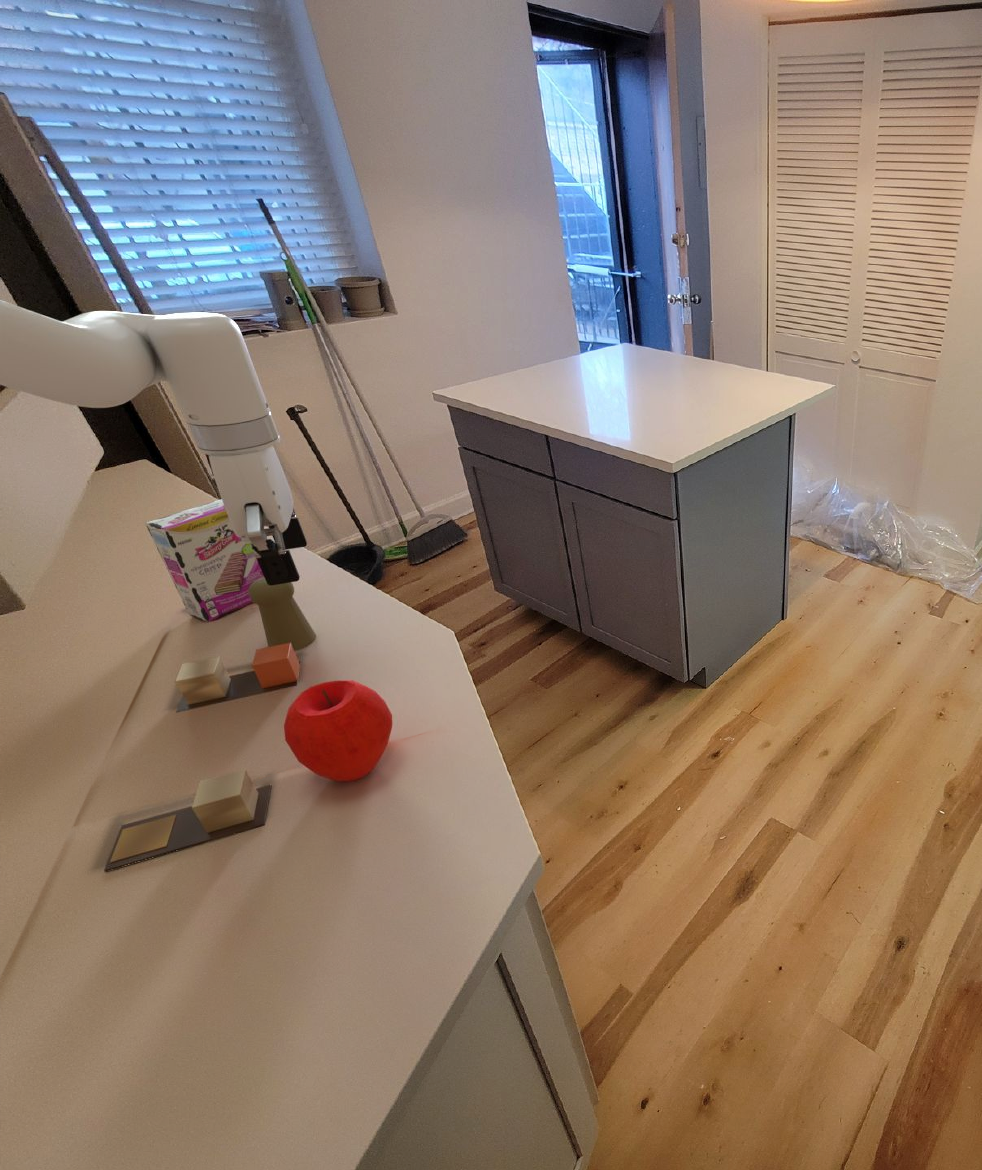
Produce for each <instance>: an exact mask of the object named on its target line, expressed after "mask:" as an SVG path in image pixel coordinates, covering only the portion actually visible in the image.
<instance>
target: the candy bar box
mask: <svg viewBox="0 0 982 1170" xmlns="http://www.w3.org/2000/svg"><path fill="white" fill-rule="evenodd" d="M144 524H145V526H146V528H147V531H148V533H149V534H150V536H151V538H152V540H153V542H154V545H155V546H156V549H157V551H158V553H159V555H160V557H161V559H162V562H163V563H164V565H165V567H166V569H167V572H168V573H169V576H170V578H171V580H172V582H173V585H174V586H175V588H176V590H177V592H178V595H179V597H180V599H181V601H182V603H183V605H184V607H185V609H186V611H187V613H188V615H189V616H190V617H193V618H194V619H195V618H196V619H198V620H200V621H202V622H206V623H211V622H213V621H216V620H217V619H220V618H221V617H224V616H226V615H228V614H231V613H233V612H235V611H238V610H239V609H242V608H244V607H246V606H248V605H250V604H253V603H254V602H253V601H252V600H251V599H250V596H249V594H248V589H249V587H250V585H251V584H252V583H253V582H254V581H256V580H258V579H260V578H263V577H264V575H263V573H262V571H261V568H260V566H259V564H258V561H257V559H256V557H255V555H254V551H253V549H252V547H253V546H251V544H252V542H251V541H250V539H249V538H248V536H246V537H245V538H239V537H238V536H236V535H235V532H234V530H233V527H232V525H231V522H230V520H229V517H228V514H227V512H226V509H225V506H224V504H223V501H222V498H220V499H217V500H214V501H211V502H208V503H205V504H201V505H198V506H195V507H192V508H189V509H186V510H182V511H178V512H176V513H173V514H169V515H167V516H163V517H160V518H157V519H153V520H150V521H147V522H145V523H144Z"/></svg>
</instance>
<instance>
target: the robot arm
mask: <svg viewBox="0 0 982 1170" xmlns="http://www.w3.org/2000/svg"><path fill="white" fill-rule="evenodd" d="M255 368H256V367H255V366H254V363H253V361H252V358H251V355H250V352H249V349H248V347H247V344H246V341H245V338H244V336H243V334H242V331H241V328H240V327H239V325H238V324H237V322H236V321H234V320H233V319H232V318H231V317H228V316H227V315H224V314H220V313H213V312H180V313H170V314H165V315H156V314H144V313H143V314H142V313H131V312H123V311H111V310H97V311H88V312H84V313H80V314H78V315H75V316H73V317H70V318H68V319H66V320H63V321H61V320H59V319H55V318H52V317H49V316H46V315H43V314H41V313H38V312H35V311H33V310H29V309H27V308H24V307H22V306H18V305H15V304H13V303H10V302H8V301H5V300H3V299H0V386H3V387H5V388H6V387H7V388H9V389H13V390H16V391H19V392H21V393H22V392H23V393H26V394H30V395H32V396H36V397H40V398H43V399H46V400H50V401H53V402H58V403H61V404H65V405H69V406H75V407H82V408H91V409H107V408H113V407H117V406H120V405H124V404H126V403H128V402H129V401H131V400H132V399H134V398H136V397H137V396H138V394H140V393H142V391H143V390H144V389H146V388H149V387H150V386H153V385H155V384H157V383H161V382H167V383H168V385H169V386H170V389H171V391H172V394H173V396H174V398H175V400H176V403H177V405H178V407H179V409H180V411H181V414H182V416H183V418H184V421H185V422H186V423H185V424H186V425H187V427H188V430H189V432H190V434H191V436H192V439H193V441H194V443H195V446H196V448H197V451H198V452H199V453H201V454H203V455H207V456H208V459H209V465H210V467H211V471H212V475H213V478H214V482H215V484H216V488H217V489H218V493H219V495H220V499H222V501H223V504H224V506H225V509H226V512H227V514H228V517H229V520H230V522H231V525H232V527H233V530H234V532H235V535H236V536H238V537H239V538H245V537H246V536H248V538H249V539H250V541H251V542H252V544H251V546H253V547H252V549H253V551H254V555H255V557H256V559H257V561H258V564H259V566H260V568H261V571H262V573H263V575H264V578H265V580H266V582H267V584H268V585H271V586H272V585H278V584H284V583H290V582H292V583H295V582H299V580H300V576H301V575H300V574H299V571H298V569H297V566H296V564H295V560H294V559H293V556H292V554H291V551H290V550H293V549H300V548H305V547H307V545H308V541H307V538H306V535H305V533H304V531H303V528H302V525H301V523H300V520H299V518H298V517H297V515H296V511H295V509H294V506H295V505H294V504H295V502H294V498H293V494H292V490H291V487H290V485H289V482H288V479H287V477H286V475H285V472H284V469H283V467H282V463H281V461H280V459H279V457H278V454H277V452H276V448H274V447H275V446H277V445H278V444H280V443H281V441H282V439H281V436H280V433H279V431H278V428H277V425H276V423H275V420H274V417H273V415H272V411H271V409H270V406H269V404H268V401H267V398H266V395H265V393H264V390H263V388H262V385H261V382H260V380H259V377H258V374H257V371H256V369H255ZM265 527H268V528H265ZM271 536H272V538H273V540H272V538H268V537H271Z"/></svg>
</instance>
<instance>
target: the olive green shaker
mask: <svg viewBox="0 0 982 1170" xmlns="http://www.w3.org/2000/svg"><path fill="white" fill-rule="evenodd" d="M248 594H249V596H250V599H251V600H252V601H253V602H252V603H253V604H255V605H256V606H258V609H259V614H260V618H261V622H262V626H263V631H264V634H265V639H266V644H267V647H271V646H276V645H281V644H286V643H291V644H292V647H293V649H294V652H297V651H300V650H303V649H305V648H307V647H309V646H310V645H311V644H313V643H314V641H315V640H316V638H317V634H316V632H315V631H314V629H313V627H312V626H311V623H309V621H308V619H307V618H306V615H305V614H304V613H303V611H302V610H301V608H300V606H299V605H298V603H297V601H296V600H295V598H294V594H295V587H294V584H293V582H290V583H284V584H278V585H272V586H271V585H268V584H267V582H266V580H265V578H264V577H263V578H260V579H258V580H256V581H254V582H253V583H252V584H251V585H250V587H249V589H248Z"/></svg>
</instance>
